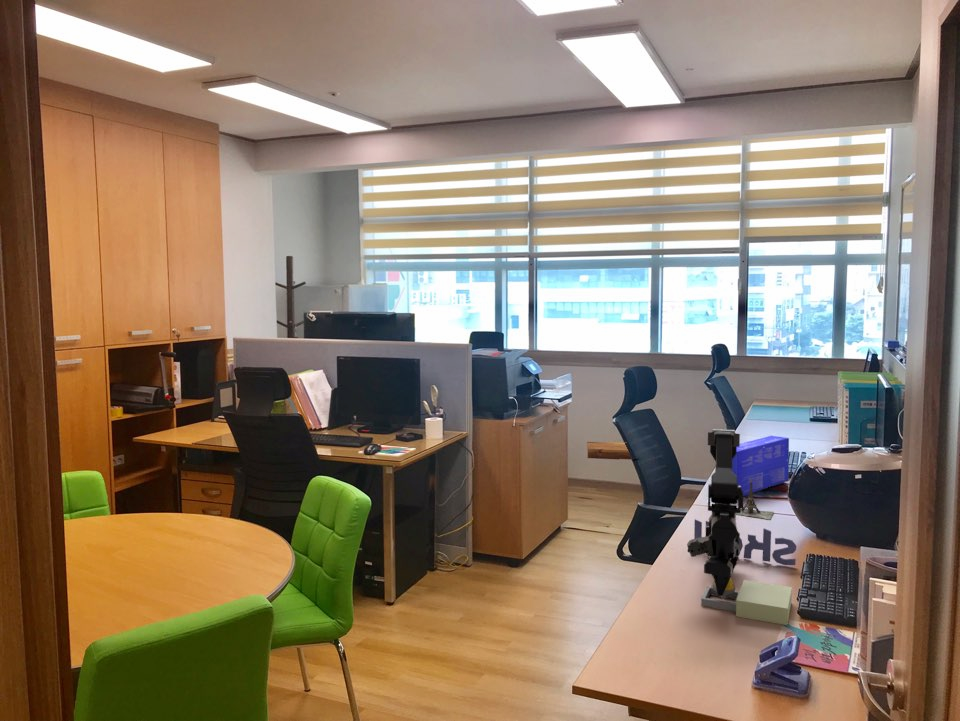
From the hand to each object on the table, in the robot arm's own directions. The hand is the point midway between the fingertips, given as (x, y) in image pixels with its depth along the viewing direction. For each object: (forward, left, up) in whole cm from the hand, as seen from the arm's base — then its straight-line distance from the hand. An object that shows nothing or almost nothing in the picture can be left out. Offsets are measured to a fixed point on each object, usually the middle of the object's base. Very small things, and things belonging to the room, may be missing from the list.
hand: (722, 590), depth 186 cm
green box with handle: (0, 0, -3) cm, 3 cm away
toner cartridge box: (-120, -5, -3) cm, 120 cm away
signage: (-35, +1, -3) cm, 35 cm away
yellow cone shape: (0, 0, -3) cm, 3 cm away
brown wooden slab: (-152, -73, -4) cm, 169 cm away
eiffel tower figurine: (-84, -3, -4) cm, 84 cm away
